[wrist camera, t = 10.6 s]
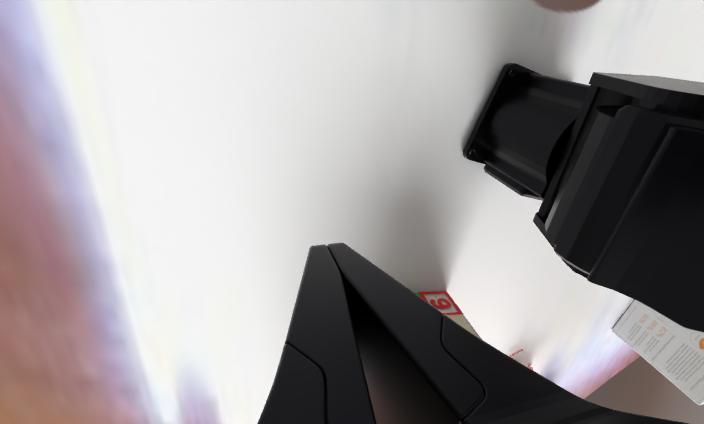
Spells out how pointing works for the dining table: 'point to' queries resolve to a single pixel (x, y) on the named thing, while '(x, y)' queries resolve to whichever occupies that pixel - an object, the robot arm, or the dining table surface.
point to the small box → (666, 347)
